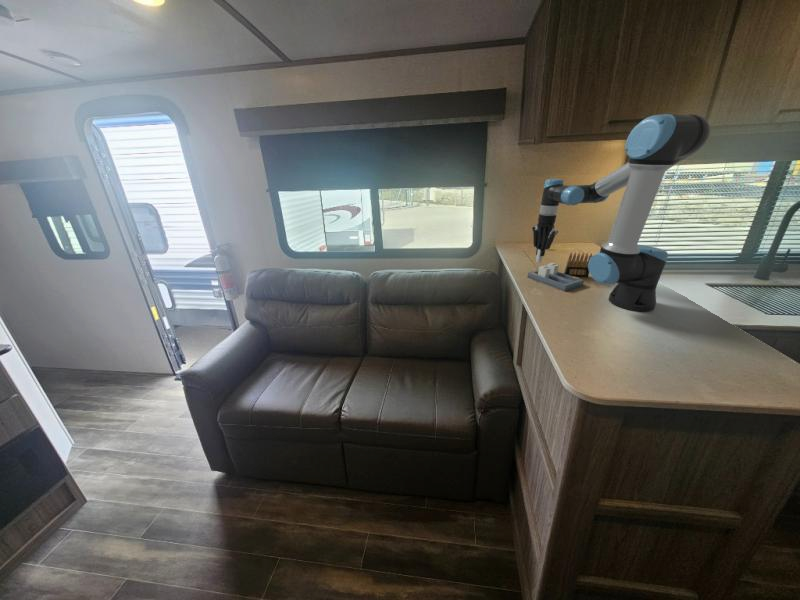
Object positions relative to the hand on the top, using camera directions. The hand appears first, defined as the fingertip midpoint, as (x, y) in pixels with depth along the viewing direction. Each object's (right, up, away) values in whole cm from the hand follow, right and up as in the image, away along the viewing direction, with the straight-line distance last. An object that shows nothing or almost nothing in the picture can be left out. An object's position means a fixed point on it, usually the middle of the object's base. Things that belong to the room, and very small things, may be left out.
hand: (538, 261), depth 152 cm
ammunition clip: (+17, -8, -4) cm, 19 cm away
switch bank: (+3, -11, -9) cm, 14 cm away
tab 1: (-2, -9, -8) cm, 12 cm away
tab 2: (+4, -7, -5) cm, 9 cm away
